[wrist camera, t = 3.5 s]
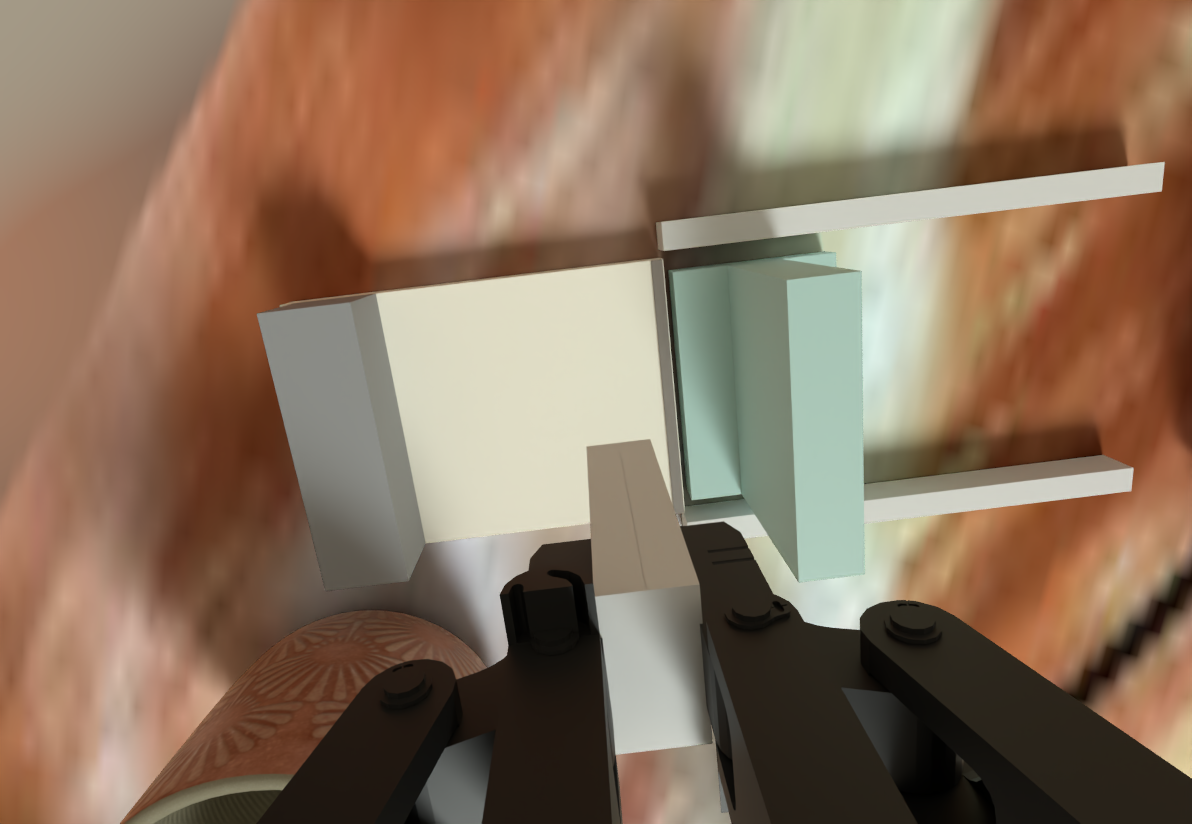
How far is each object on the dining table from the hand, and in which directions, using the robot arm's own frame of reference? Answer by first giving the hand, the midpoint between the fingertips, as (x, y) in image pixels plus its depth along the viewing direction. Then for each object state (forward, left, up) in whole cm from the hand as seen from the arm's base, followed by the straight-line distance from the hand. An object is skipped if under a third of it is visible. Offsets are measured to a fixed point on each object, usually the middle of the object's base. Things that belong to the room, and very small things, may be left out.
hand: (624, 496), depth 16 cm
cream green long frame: (+5, 0, -11) cm, 12 cm away
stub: (+6, 0, -11) cm, 13 cm away
